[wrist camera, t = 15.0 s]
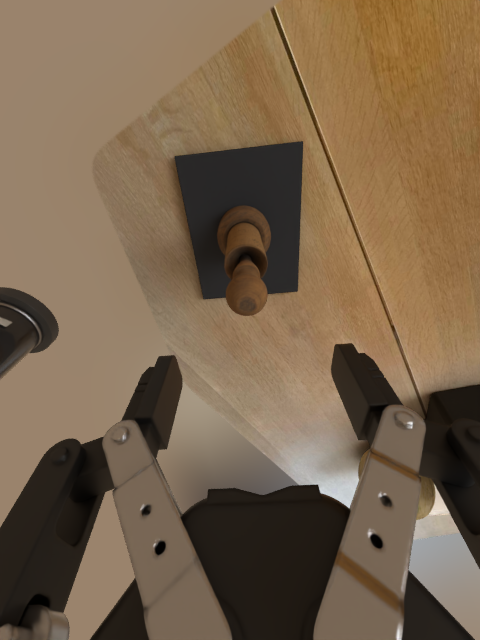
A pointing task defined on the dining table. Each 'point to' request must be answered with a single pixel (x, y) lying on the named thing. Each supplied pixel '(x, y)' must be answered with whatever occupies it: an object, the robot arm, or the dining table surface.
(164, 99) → the dining table surface
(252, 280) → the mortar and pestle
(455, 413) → the flower pot
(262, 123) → the dining table surface
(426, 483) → the cantaloupe
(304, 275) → the dining table surface
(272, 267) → the mat
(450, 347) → the dining table surface
